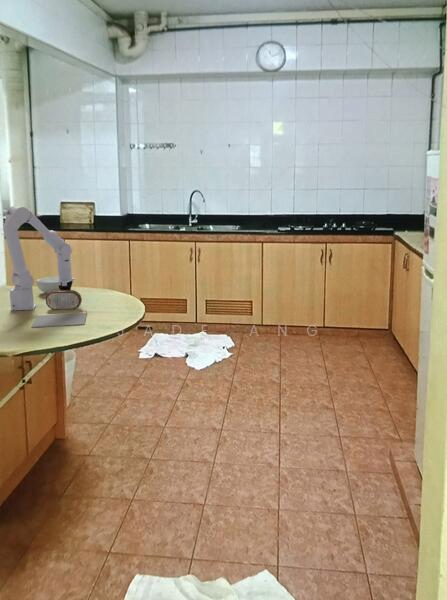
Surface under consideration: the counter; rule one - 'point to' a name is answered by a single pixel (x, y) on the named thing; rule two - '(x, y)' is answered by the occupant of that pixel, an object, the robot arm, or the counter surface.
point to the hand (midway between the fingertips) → (66, 298)
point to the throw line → (64, 313)
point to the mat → (59, 320)
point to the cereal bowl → (48, 284)
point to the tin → (63, 300)
